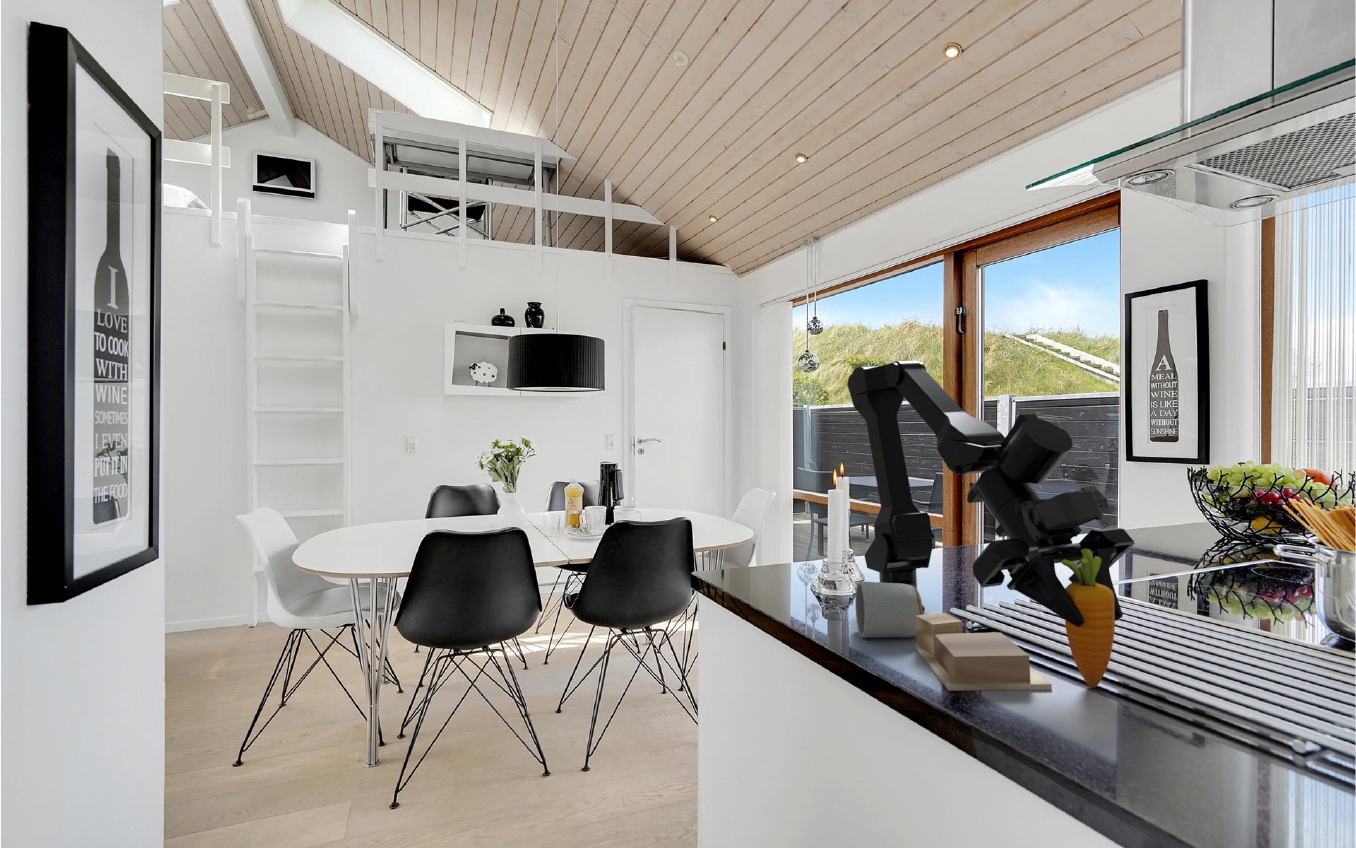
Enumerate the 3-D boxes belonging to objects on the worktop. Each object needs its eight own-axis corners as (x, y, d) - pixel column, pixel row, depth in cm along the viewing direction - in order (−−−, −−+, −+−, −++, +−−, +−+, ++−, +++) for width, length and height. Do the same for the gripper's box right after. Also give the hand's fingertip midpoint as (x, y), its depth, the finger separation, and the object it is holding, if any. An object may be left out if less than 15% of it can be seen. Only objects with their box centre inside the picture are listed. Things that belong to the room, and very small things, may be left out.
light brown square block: (934, 658, 82) (933, 633, 82) (1002, 657, 81) (1000, 632, 81) (955, 683, 74) (954, 656, 74) (1030, 682, 73) (1029, 655, 73)
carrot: (1102, 700, 69) (1096, 557, 69) (1056, 685, 74) (1050, 550, 74) (1129, 689, 72) (1123, 551, 72) (1083, 675, 76) (1077, 545, 76)
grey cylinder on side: (927, 643, 89) (924, 586, 89) (865, 645, 90) (862, 588, 90) (905, 621, 100) (903, 570, 100) (850, 623, 100) (848, 572, 100)
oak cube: (917, 646, 87) (916, 615, 87) (945, 643, 87) (944, 612, 87) (934, 656, 83) (932, 624, 83) (963, 653, 83) (962, 621, 83)
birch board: (915, 648, 88) (914, 643, 88) (1001, 646, 87) (1001, 642, 87) (948, 690, 74) (948, 685, 74) (1051, 689, 73) (1051, 684, 73)
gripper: (985, 469, 74) (1073, 591, 63) (1115, 459, 79) (1217, 570, 68) (942, 530, 82) (1014, 647, 71) (1064, 517, 87) (1148, 625, 76)
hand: (1100, 621), depth 71 cm, fingers closed on carrot, 5 cm apart
